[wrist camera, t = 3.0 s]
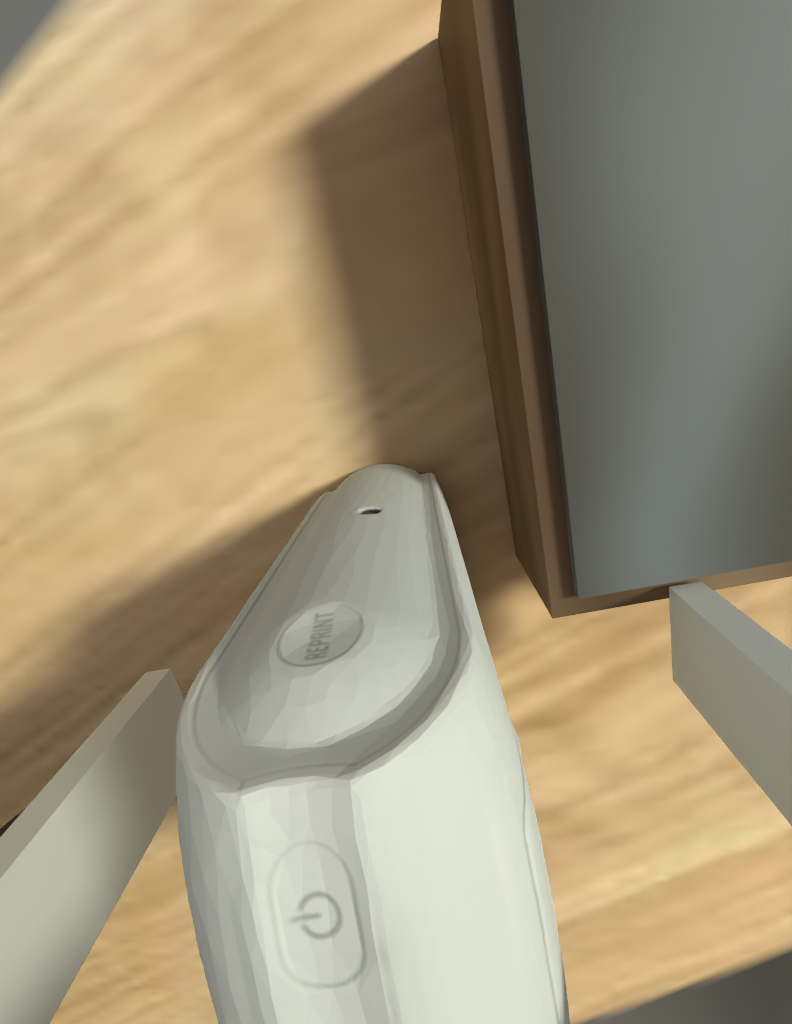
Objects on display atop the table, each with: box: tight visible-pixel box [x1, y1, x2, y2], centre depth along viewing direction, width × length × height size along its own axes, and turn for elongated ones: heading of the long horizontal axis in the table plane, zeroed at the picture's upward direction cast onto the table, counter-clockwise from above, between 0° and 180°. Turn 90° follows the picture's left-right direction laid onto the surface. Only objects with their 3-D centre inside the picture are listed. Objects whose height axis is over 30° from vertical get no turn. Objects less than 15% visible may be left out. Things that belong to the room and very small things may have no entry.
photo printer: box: [175, 464, 570, 1024], centre depth 10 cm, size 10×4×12 cm, turn 12°
